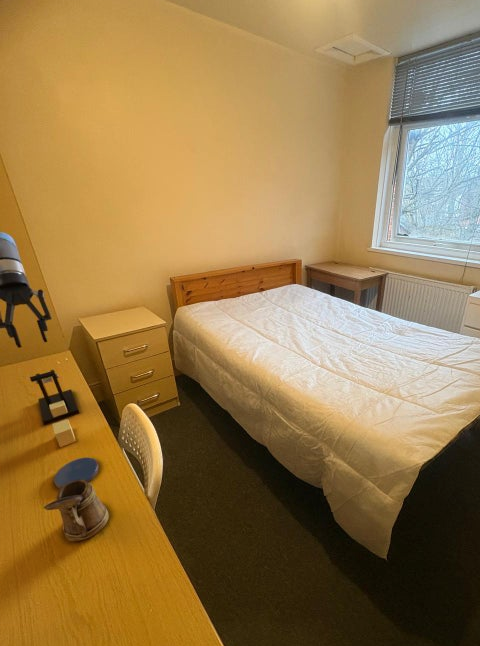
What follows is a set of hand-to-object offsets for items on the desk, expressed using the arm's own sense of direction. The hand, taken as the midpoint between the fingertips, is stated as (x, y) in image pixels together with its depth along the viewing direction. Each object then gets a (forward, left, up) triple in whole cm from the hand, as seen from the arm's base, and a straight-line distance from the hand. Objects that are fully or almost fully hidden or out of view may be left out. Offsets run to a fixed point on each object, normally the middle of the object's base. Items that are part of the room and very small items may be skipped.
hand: (32, 342), depth 97 cm
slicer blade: (+1, -1, -13) cm, 13 cm away
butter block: (+9, -12, -27) cm, 31 cm away
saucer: (+21, -25, -27) cm, 43 cm away
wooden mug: (+33, -41, -28) cm, 60 cm away
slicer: (-4, +4, -27) cm, 28 cm away
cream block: (0, -1, -26) cm, 26 cm away
